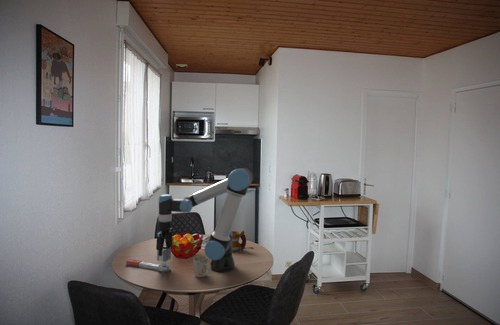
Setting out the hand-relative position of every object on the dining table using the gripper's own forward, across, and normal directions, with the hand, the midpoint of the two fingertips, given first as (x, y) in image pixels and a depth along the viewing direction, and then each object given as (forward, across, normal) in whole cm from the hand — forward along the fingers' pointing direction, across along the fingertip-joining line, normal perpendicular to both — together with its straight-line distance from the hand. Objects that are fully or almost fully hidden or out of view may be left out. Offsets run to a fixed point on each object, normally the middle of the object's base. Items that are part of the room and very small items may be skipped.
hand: (164, 259), depth 190 cm
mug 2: (+7, -52, +25) cm, 58 cm away
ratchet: (+7, 0, -11) cm, 13 cm away
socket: (0, 0, 0) cm, 0 cm away
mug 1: (+7, -1, +25) cm, 26 cm away
